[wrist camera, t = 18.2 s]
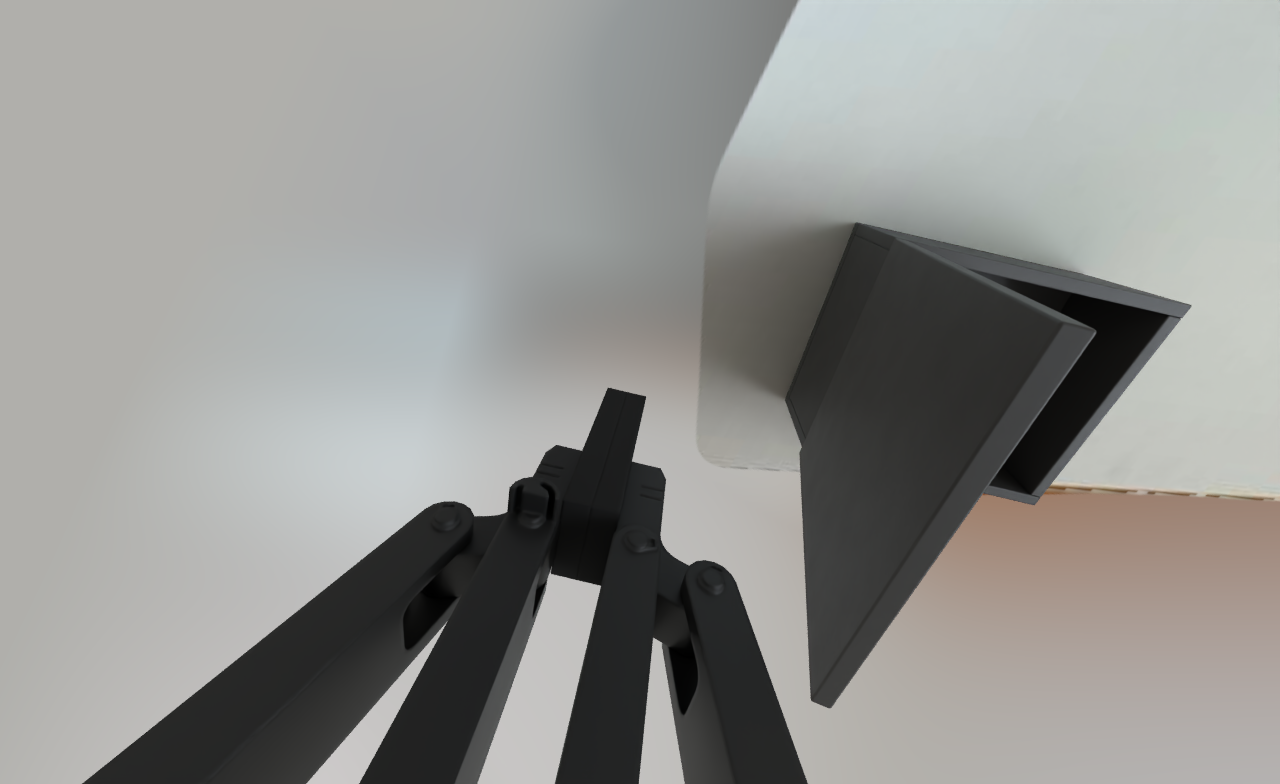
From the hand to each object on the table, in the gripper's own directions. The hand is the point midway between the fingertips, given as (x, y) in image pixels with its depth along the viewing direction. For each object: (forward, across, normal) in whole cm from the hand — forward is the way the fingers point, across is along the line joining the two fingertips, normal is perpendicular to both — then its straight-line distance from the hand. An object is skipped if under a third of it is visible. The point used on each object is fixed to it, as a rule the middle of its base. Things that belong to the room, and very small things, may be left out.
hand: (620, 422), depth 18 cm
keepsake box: (+23, +22, 0) cm, 32 cm away
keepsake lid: (+5, +12, 0) cm, 13 cm away
